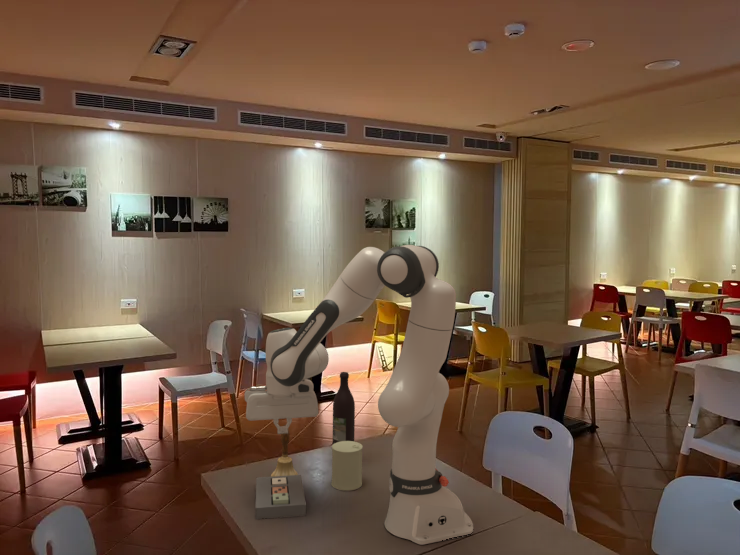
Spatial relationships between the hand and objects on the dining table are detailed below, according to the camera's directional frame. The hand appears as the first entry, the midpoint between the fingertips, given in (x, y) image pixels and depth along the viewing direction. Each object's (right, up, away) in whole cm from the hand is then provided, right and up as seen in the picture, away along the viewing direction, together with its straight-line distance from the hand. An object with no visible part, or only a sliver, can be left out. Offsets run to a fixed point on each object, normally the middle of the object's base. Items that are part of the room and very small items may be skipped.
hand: (282, 433), depth 160 cm
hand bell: (-2, -17, +14) cm, 22 cm away
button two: (+1, -17, -9) cm, 19 cm away
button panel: (0, -18, -3) cm, 18 cm away
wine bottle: (+16, -17, +24) cm, 33 cm away
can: (+18, -18, +9) cm, 27 cm away
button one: (-1, -17, +3) cm, 17 cm away
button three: (0, -17, -3) cm, 18 cm away
